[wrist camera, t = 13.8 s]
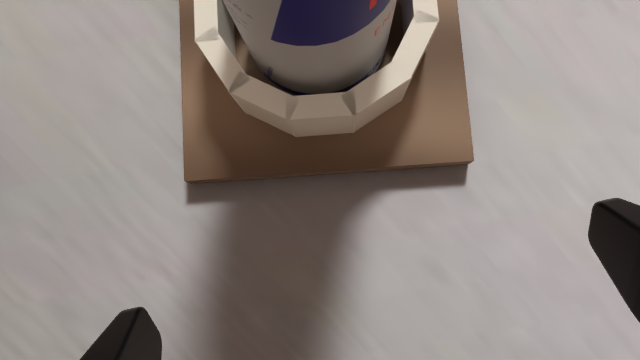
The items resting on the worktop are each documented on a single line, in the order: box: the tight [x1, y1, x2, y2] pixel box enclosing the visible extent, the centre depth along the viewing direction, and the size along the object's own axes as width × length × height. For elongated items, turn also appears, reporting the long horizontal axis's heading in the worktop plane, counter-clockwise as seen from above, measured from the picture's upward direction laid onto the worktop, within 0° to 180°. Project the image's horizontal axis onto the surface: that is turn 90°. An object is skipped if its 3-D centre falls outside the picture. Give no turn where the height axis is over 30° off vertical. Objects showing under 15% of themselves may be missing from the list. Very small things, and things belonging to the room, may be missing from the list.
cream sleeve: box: [194, 0, 439, 137], centre depth 17 cm, size 8×8×3 cm
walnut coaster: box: [179, 0, 474, 184], centre depth 19 cm, size 11×11×1 cm
